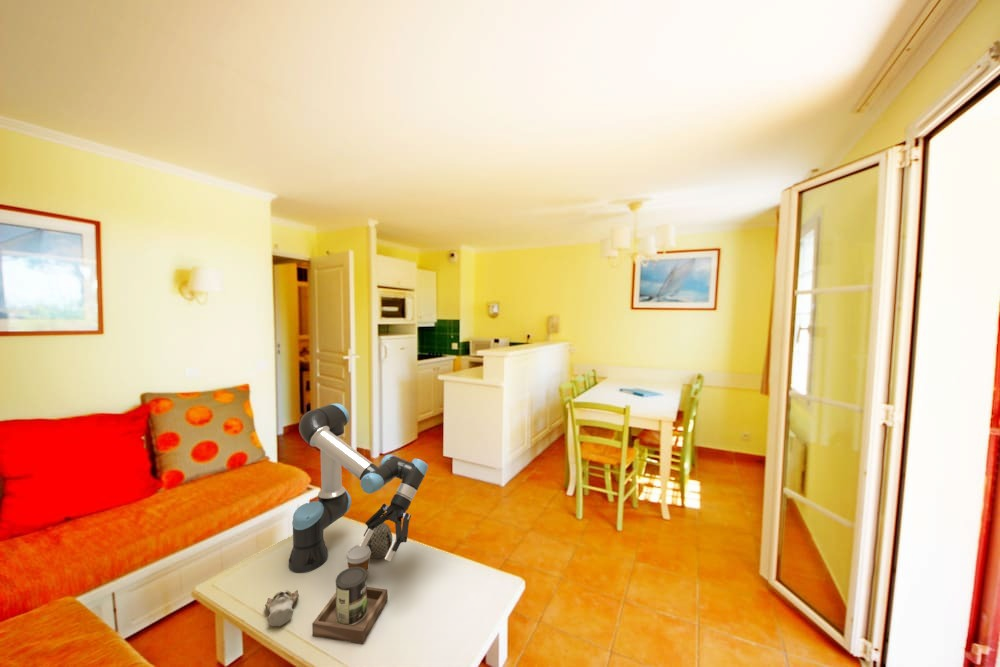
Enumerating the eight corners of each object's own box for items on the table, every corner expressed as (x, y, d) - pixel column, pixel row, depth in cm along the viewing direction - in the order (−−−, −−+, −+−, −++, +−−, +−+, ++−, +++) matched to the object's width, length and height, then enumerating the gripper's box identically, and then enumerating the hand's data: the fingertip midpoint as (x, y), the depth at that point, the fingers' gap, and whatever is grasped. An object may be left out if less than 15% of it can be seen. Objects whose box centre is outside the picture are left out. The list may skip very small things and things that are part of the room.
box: (342, 594, 139) (342, 583, 139) (387, 600, 137) (387, 589, 137) (312, 636, 122) (312, 623, 121) (363, 644, 119) (363, 631, 119)
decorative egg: (382, 567, 155) (382, 533, 154) (358, 561, 158) (358, 528, 157) (397, 550, 166) (397, 518, 165) (375, 544, 169) (375, 513, 168)
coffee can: (369, 601, 135) (369, 565, 134) (363, 625, 125) (363, 586, 124) (340, 604, 134) (340, 567, 133) (331, 628, 124) (331, 588, 123)
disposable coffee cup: (362, 590, 142) (362, 561, 141) (340, 586, 143) (340, 557, 143) (375, 573, 151) (375, 545, 150) (355, 569, 153) (354, 542, 152)
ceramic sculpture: (261, 611, 121) (266, 583, 134) (261, 637, 121) (266, 606, 134) (298, 600, 126) (299, 574, 139) (298, 625, 126) (299, 597, 139)
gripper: (431, 509, 145) (403, 568, 133) (386, 492, 157) (357, 545, 145) (422, 502, 140) (393, 563, 128) (376, 485, 152) (346, 539, 140)
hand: (374, 553), depth 137 cm, fingers open, 13 cm apart
